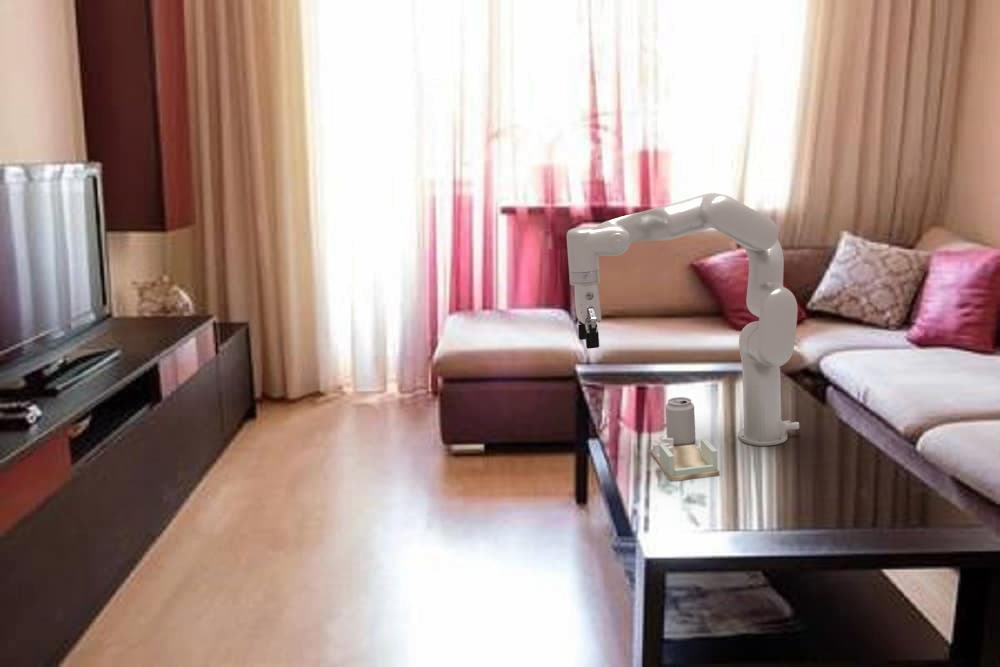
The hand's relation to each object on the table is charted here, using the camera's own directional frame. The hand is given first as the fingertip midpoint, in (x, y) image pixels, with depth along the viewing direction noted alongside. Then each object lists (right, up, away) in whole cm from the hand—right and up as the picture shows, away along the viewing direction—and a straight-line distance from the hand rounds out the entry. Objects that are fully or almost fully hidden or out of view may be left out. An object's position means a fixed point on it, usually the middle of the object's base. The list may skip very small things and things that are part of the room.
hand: (589, 343), depth 225 cm
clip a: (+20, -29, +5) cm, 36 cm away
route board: (+24, -30, -2) cm, 39 cm away
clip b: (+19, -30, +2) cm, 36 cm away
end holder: (+24, -30, -7) cm, 39 cm away
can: (+26, -27, +13) cm, 40 cm away
